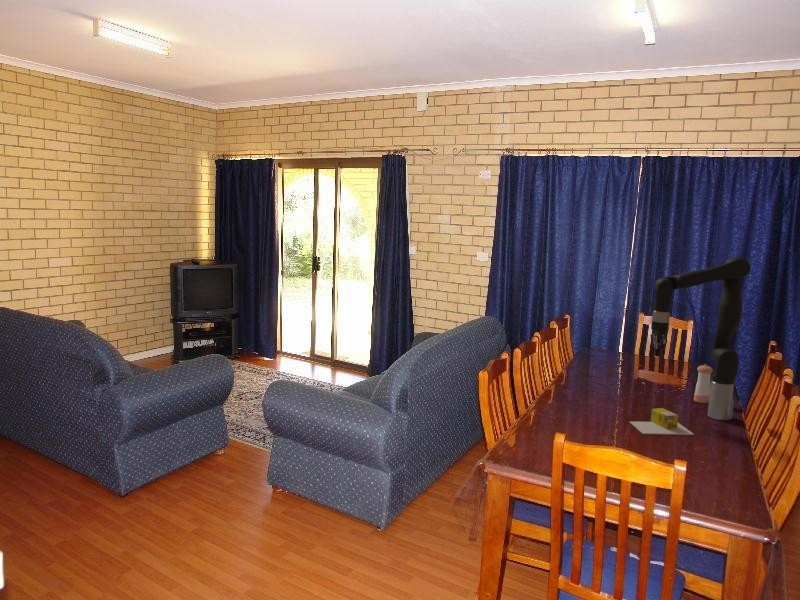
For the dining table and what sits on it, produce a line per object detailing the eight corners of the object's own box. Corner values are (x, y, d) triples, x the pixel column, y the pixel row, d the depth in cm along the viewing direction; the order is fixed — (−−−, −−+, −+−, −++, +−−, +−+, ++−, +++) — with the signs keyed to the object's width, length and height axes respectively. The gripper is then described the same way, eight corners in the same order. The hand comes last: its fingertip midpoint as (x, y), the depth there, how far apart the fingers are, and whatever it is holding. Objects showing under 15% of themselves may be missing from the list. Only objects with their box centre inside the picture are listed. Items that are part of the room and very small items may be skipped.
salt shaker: (711, 403, 289) (715, 367, 286) (696, 402, 290) (699, 365, 288) (707, 399, 296) (710, 363, 293) (691, 398, 297) (695, 362, 295)
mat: (677, 423, 260) (677, 422, 260) (693, 435, 246) (693, 434, 246) (629, 422, 260) (629, 421, 260) (643, 434, 246) (643, 433, 246)
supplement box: (649, 420, 261) (666, 429, 251) (650, 408, 260) (667, 416, 250) (660, 419, 263) (677, 428, 252) (661, 407, 262) (678, 415, 252)
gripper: (675, 323, 264) (671, 359, 266) (661, 318, 277) (658, 353, 279) (659, 323, 264) (655, 359, 266) (646, 317, 277) (643, 352, 279)
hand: (657, 356), depth 273 cm, fingers closed
